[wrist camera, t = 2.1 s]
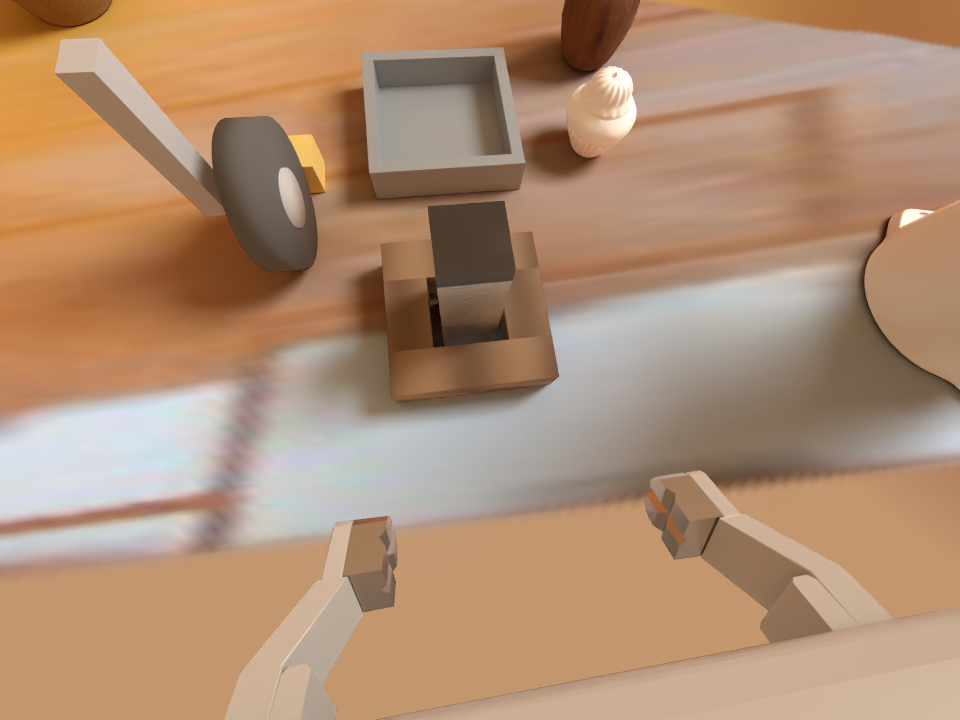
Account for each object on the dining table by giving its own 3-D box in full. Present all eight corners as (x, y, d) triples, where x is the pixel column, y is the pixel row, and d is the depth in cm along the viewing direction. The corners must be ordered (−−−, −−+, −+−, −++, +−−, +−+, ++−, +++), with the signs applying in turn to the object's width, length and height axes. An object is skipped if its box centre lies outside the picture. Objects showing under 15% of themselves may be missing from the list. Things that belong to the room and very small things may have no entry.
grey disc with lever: (324, 162, 33) (220, -64, 19) (328, 290, 30) (208, 138, 16) (249, 167, 33) (81, -63, 18) (245, 298, 30) (39, 147, 15)
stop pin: (486, 297, 31) (504, 200, 19) (493, 342, 30) (516, 269, 18) (439, 302, 30) (427, 206, 19) (444, 347, 29) (435, 277, 18)
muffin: (558, 170, 34) (583, 101, 28) (553, 118, 36) (575, 41, 29) (622, 171, 35) (661, 103, 28) (614, 120, 36) (650, 44, 30)
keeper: (525, 251, 32) (531, 231, 29) (549, 384, 29) (559, 376, 26) (387, 263, 31) (380, 243, 28) (398, 402, 28) (391, 396, 25)
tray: (499, 80, 37) (503, 47, 34) (519, 188, 34) (525, 163, 31) (369, 86, 36) (361, 52, 33) (377, 198, 33) (369, 173, 30)
